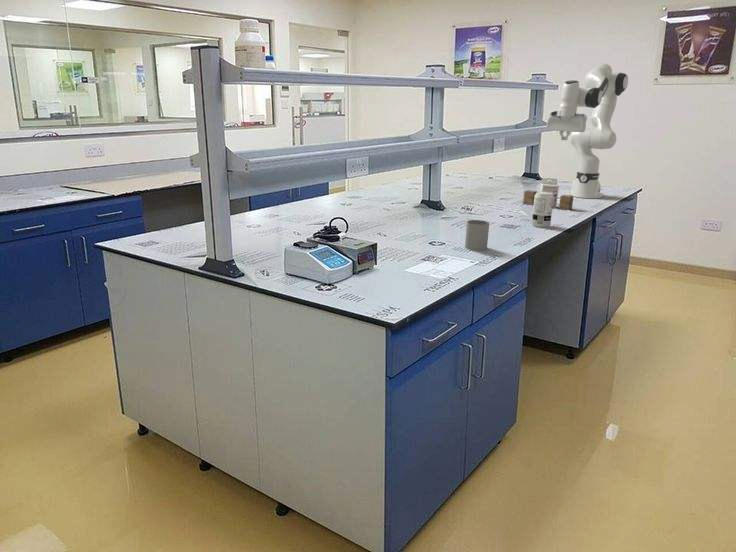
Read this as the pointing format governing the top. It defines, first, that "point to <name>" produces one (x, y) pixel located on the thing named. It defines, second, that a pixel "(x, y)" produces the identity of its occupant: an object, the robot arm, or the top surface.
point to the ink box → (550, 188)
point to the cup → (477, 235)
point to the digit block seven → (529, 197)
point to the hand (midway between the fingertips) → (564, 140)
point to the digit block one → (566, 202)
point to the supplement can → (542, 209)
